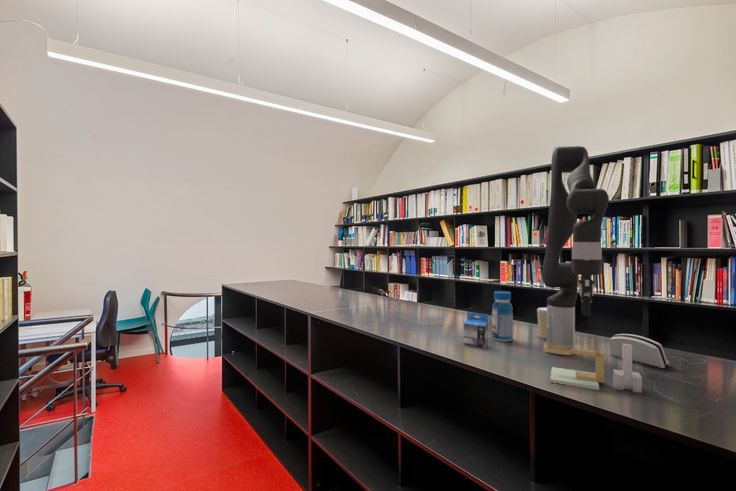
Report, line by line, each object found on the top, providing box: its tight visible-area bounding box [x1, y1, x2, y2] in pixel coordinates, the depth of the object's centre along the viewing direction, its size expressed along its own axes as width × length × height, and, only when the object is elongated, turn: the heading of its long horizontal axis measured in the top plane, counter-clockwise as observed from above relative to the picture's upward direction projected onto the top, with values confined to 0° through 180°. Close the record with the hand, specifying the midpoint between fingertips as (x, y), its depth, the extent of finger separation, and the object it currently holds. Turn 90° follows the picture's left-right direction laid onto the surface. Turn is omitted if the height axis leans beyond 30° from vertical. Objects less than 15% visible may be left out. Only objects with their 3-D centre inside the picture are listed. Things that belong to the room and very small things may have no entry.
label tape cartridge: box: [463, 311, 489, 348], centre depth 148 cm, size 9×4×12 cm, turn 53°
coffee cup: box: [536, 307, 547, 339], centre depth 161 cm, size 9×9×12 cm
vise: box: [612, 344, 643, 394], centre depth 106 cm, size 6×11×12 cm, turn 152°
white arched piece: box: [609, 333, 671, 369], centre depth 128 cm, size 17×5×10 cm, turn 28°
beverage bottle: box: [491, 290, 514, 342], centre depth 156 cm, size 8×8×20 cm
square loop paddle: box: [542, 342, 605, 384], centre depth 110 cm, size 16×7×8 cm, turn 62°
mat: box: [549, 366, 600, 391], centre depth 109 cm, size 12×12×1 cm
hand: (585, 313), depth 108 cm, fingers open, 8 cm apart
